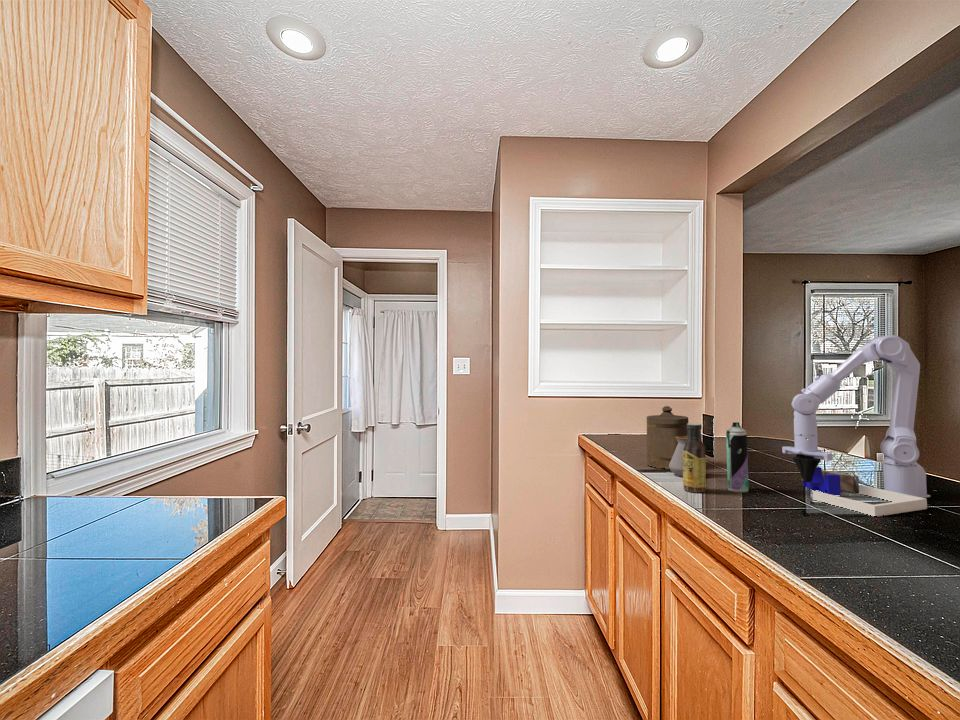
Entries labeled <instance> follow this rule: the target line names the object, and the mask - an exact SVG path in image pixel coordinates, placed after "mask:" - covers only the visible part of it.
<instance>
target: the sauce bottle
mask: <svg viewBox="0 0 960 720" xmlns="http://www.w3.org/2000/svg"><path fill="white" fill-rule="evenodd" d="M706 459H707V456H706V446H705V445H704V442H703V441H702V423H698V422H697V423H696V422H688V424H687V440H686V443H685V446H684V449H683V477H682V483H683V489H684V490H685V491H686V492H689V493H704V492H706V490H707V489H706V486H707V478H706V477H707V475H706V474H707V471H706V470H707V469H706V468H707V462H706Z"/></svg>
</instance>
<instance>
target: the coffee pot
mask: <svg viewBox="0 0 960 720" xmlns="http://www.w3.org/2000/svg"><path fill="white" fill-rule="evenodd" d="M675 438H676V440H677V441H678V445H677V447H676V449H675V452H674V454H673V457H672V459H671V461H670V464H669V468H670V471H671V473H673V474H674V476H676V475H677V476H676V477H680V476H681V477H680V478H683V449H684V446H685V443H686V440H687V436H677V437H675Z"/></svg>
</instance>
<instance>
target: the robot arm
mask: <svg viewBox="0 0 960 720" xmlns="http://www.w3.org/2000/svg"><path fill="white" fill-rule="evenodd" d="M879 360H881V361H883V362H884V363H886V364H887V365H888V366H889V367H890V368H892V369H893V370H894V371H895V372H894V382H893V391H892V399H891V401H892V402H891V409H890V419H889V427H888V429H887V430H886V432H885V437H884V439H883V440H882V441H881V443H880V445H879V446H880V447H879V448H880V452H881V453H882V454H883V456H885V457H884V458H883V460H882V474H883V490H887V491H892V492H897V493H902V494H906V495H911V496H916V497H921V498H925V499H927V498H930V497H931V495H930V494H928V492H927V491H928V490H927V472H926V471H925V469H924V467H923V466H922V465H920V463H918V462H917V461H918V460H919V457H920V450H919V448H918V446H917V437H916V433H915V431H914V428H915V426H914V425H915V420H916V419H915V418H916V411H917V400H918V399H917V398H918V392H919V391H918V389H919V382H920V381H919V379H920V372H921V364H920V361H919V360H918V359H917V357H916V356H915V353H914V352H913V351H912V349H911V346H910V343H909V342H908V341H906V340H904V339H903V338H902V337H900V336H898V335H896V334H894V335H893V334H887V335H883V336H882V335H881V336H875V337H873V338H872V339H871V340H870V341H869V342H868V343H867V342H866V343H865V344H863V345H862V346H860V347H859V348H858V349H857V350H856V351H854V352H853V353H852V354H851V355H850V356H849V357H848V358H847V359H845V360H843V362H842V363H841V364H840V365H839V366H838V367H837V368H836V369H834V370H833V371H832V372H831V373H827V374H822V375H820V376H819V375H816V376H815V377H814V379H813V380H814V381H813V382H812V383H811V384H809V385H808V386H807V387H806V388H802V389H801V390H800V391H801V393H797V394H796V395H795V396H794V397H793V399H792V402H791V407H792V409H793V410H794V411H793V417H794V418H793V434H794V435H793V439H794V446H788V445H787V446H785V445H784V446H781V449H782V450H781V451H782V453H783V454H789V455H795V456H793V457H792V460H793V462H794V463H795V465H796V467H797V469H798V471H799V473H800V477H801V481H802V480H803V481H802V483H803V482H812V479H813V475H814V472H815V469H816V467H819V464H820V462H821V460H823V461H826V462H831V461H833V459H834V457H833V453H832V452H827V451H824V450H823V451H822V450H819V444H818V443H819V441H818V421H817V420H818V419H817V412H818V409H819V406H820V405H821V404H823V403H824V402H826V401H827V400H828V399H830V397H832V396H833V395H834V394H835V393H837V392H838V391H839V390H840V389H841V382H842V381H843V380H845V379H846V378H848V376H850V375H851V374H852V373H853V372H855V371H856V370H858V369H859V368H861V367H862V366H863V365H864V364H865V363H866V364H867V363H870V362H875V361H879Z"/></svg>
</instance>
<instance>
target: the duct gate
mask: <svg viewBox="0 0 960 720" xmlns="http://www.w3.org/2000/svg"><path fill="white" fill-rule="evenodd" d="M822 474H823V478H824V480H825V474H838V475H840V487H841V491H845V490H846V491H845V492H849V491H850V493H855V489H854V476H855V475H849V474H844V473H839V472H834V471H829V470H825V469H822ZM801 481H802V482H803V480H802V479H801Z"/></svg>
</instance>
